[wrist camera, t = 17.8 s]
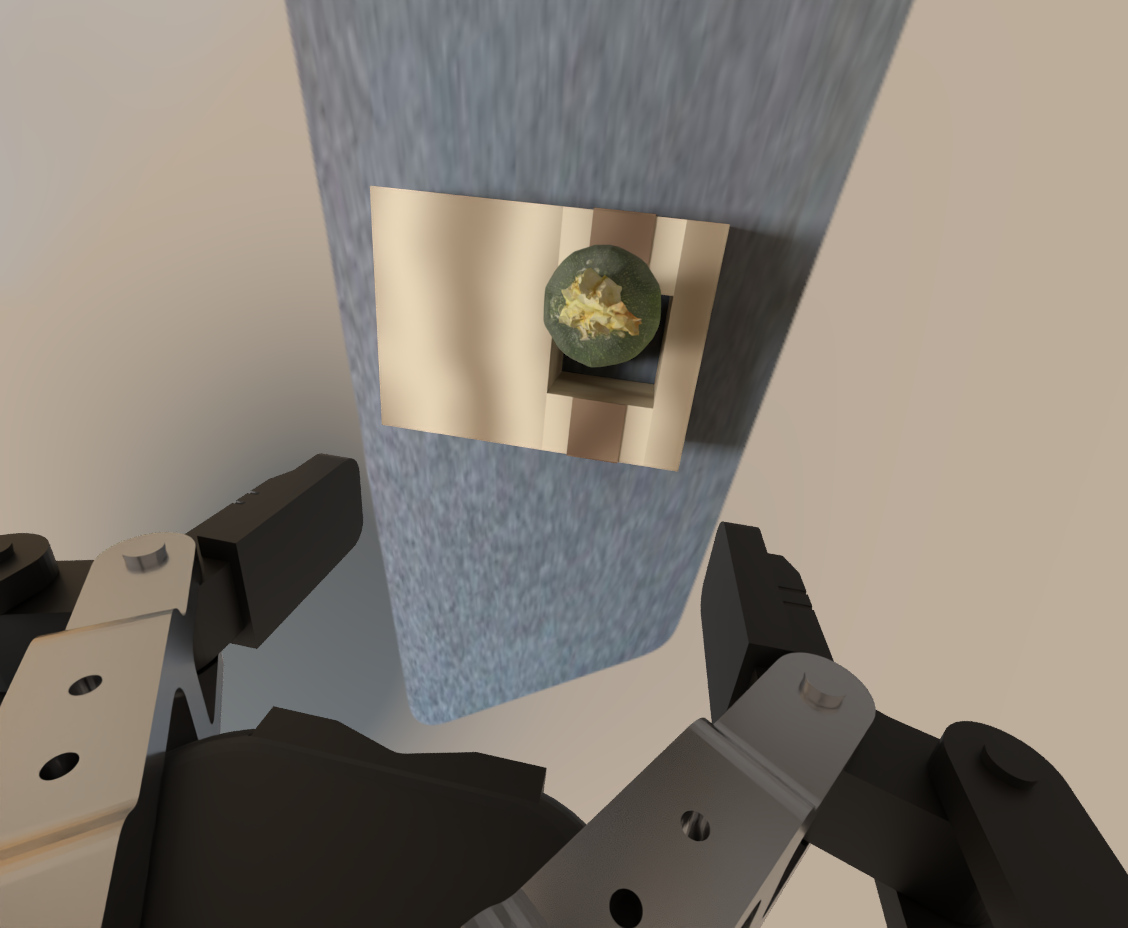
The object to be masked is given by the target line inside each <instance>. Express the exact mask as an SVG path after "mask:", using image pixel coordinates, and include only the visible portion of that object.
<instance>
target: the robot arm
mask: <svg viewBox="0 0 1128 928" xmlns="http://www.w3.org/2000/svg"><path fill="white" fill-rule="evenodd" d="M362 526H363V514H362V500H361V486H360V474H359V467H358V464H357V462H356V461H355V460H354V459H352V458H346V457H340V456H333V455H328V454H317V455H315V456H314V457H312V458H311V459H310V460H308V461H306V462H305V463H304V464H302V465H301V466H299V467H298V468H296V469H295V470H293V471H290V472H288V473H285V474H282V475H279V476H276V477H274V478H271V479H268V480H267V481H265V482H264V483H262V484H261V485H259V486H258V487H256V488H255V489H253V490H252V491H251V493H250V494H248V493H247V494H245V495H244V496H242V497H241V498H239V499H238V500H236V503H235V504H234V503H232V504H230V505H229V506H227V507H226V508H224V509H223V510H221V511H219V512H218V513H216V514H215V515H213V516H212V517H210V518H209V519H207V520H206V521H204V522H203V523H201V524H200V525H198V526H197V527H195V528H193V529H192V530H191V531H189V532H187V533H186V534H181V533H174V532H173V533H172V532H159V533H151V534H145V535H141V536H137V537H134V538H130V539H127V540H124V541H122V542H119V543H117V544H115V545H113V546H111V547H109V548H108V549H106V550H105V551H103V552H102V553H101V554H99V555H98V556H97V558H96V559H95V560H76V561H56V560H55V558H54V555H53V552H52V549H51V547H50V544H49V542H48V540H47V539H46V538H45V537H43V536H40V535H36V534H29V533H16V534H7V535H0V928H760V927H761V925H762V924H763V922H764V921H765V919H766V917H767V915H768V914H769V912H770V911H771V909H772V907H773V906H774V904H775V902H776V901H777V899H778V898H779V896H780V894H781V893H782V891H783V889H784V888H785V886H786V884H787V883H788V881H789V880H790V878H791V876H792V875H793V873H794V871H795V870H796V868H797V866H798V865H799V863H800V862H801V860H802V858H803V857H804V855H805V853H806V852H807V850H808V848H809V847H810V845H811V844H813V845H815V846H816V847H818V848H820V849H822V850H824V851H825V852H828V853H829V854H831V855H833V856H835V857H836V858H838V859H840V860H842V861H844V862H846V863H847V864H849V865H851V866H853V867H855V868H856V869H858V870H860V871H862V872H864V873H866V874H867V875H869V876H871V877H873V878H874V879H875V883H876V886H877V890H878V894H879V898H880V902H881V905H882V909H883V912H884V917H885V920H886V924H887V928H1128V874H1127V873H1126V871H1125V870H1124V868H1123V867H1122V865H1121V864H1120V862H1119V860H1118V859H1117V857H1116V856H1115V854H1114V853H1113V851H1112V850H1111V848H1110V847H1109V845H1108V844H1107V842H1106V841H1105V839H1104V838H1103V836H1102V835H1101V834H1100V832H1099V831H1098V829H1097V827H1096V826H1095V824H1094V823H1093V821H1092V820H1091V818H1090V817H1089V815H1088V814H1087V812H1086V811H1085V809H1084V808H1083V806H1082V805H1081V803H1080V802H1079V800H1078V799H1077V797H1076V796H1075V794H1074V793H1073V791H1072V790H1071V788H1070V787H1069V785H1068V784H1067V782H1066V781H1065V780H1064V778H1063V777H1062V776H1061V774H1060V773H1059V772H1058V771H1057V770H1056V769H1055V768H1054V767H1053V765H1051V764H1050V763H1049V762H1048V761H1047V760H1045V758H1044V757H1043V756H1041V755H1040V754H1039V753H1038V752H1036V751H1035V750H1034V749H1033V748H1031V747H1030V746H1028V745H1027V744H1025V743H1024V742H1022V741H1021V740H1019V739H1017V738H1015V737H1014V736H1012V735H1010V734H1008V733H1006V732H1004V731H1002V730H999V729H997V728H994V727H992V726H989V725H985V724H982V723H978V722H972V721H960V722H955V723H953V724H951V725H949V726H948V727H947V728H946V730H945V732H944V733H943V735H942V737H941V738H940V739H938V738H936V737H933V736H931V735H929V734H927V733H924V732H922V731H920V730H918V729H915V728H913V727H910V726H908V725H906V724H904V723H901V722H899V721H897V720H895V719H892V718H890V717H888V716H886V715H884V714H883V713H881V712H879V711H877V710H876V709H875V704H874V701H873V698H872V696H871V694H870V693H869V691H868V689H867V688H866V687H865V686H864V684H863V683H862V682H861V681H860V680H859V679H858V678H857V677H856V676H854V675H853V674H852V673H851V672H850V671H848V670H847V669H845V668H844V667H842V666H841V665H839V664H837V663H835V662H834V661H833V658H832V655H831V653H830V650H829V648H828V645H827V643H826V640H825V638H824V635H823V632H822V630H821V627H820V625H819V622H818V620H817V617H816V615H815V612H814V610H812V604H811V602H810V599H809V597H808V595H806V589H805V586H804V584H803V582H802V579H801V576H800V574H799V572H798V571H797V570H796V569H795V568H794V567H793V566H792V565H791V564H790V563H789V562H788V561H787V560H786V559H785V558H784V557H783V556H781V555H775V554H769V553H767V550H766V547H765V544H764V541H763V538H762V534H761V531H760V529H759V528H758V527H753V526H746V525H741V524H734V523H729V522H721V523H720V525H719V527H718V530H717V533H716V537H715V541H714V545H713V549H712V552H711V556H710V560H709V564H708V567H707V572H706V576H705V579H704V583H703V588H702V595H701V619H702V629H703V638H704V649H705V659H706V669H707V678H708V689H709V699H710V709H711V719H712V723H710V722H709V721H708V720H707V719H705V718H700V719H698V720H696V721H695V722H694V723H692V724H691V725H690V726H689V727H688V728H687V729H686V730H685V731H684V732H683V733H682V734H680V735H679V736H678V737H677V738H676V739H675V740H674V741H673V742H672V743H671V744H670V745H669V746H668V747H667V748H666V749H665V750H664V751H663V752H662V753H661V754H660V755H659V756H658V757H657V758H655V759H654V760H653V761H652V762H651V763H650V764H649V765H648V766H647V767H646V768H645V769H644V770H643V771H642V772H641V773H640V774H639V775H638V776H637V777H636V778H635V779H634V780H633V781H632V782H631V783H629V784H628V785H627V786H626V787H625V788H624V789H623V790H622V791H621V792H620V793H619V794H618V795H617V796H616V797H615V798H614V799H613V800H612V801H611V802H610V803H609V804H608V805H607V806H606V807H605V808H604V809H602V810H601V811H600V812H599V813H598V814H597V815H596V816H595V817H594V818H593V819H592V820H591V821H590V822H589V823H588V824H587V825H586V824H585V823H584V822H583V821H582V820H581V819H580V818H579V817H578V816H577V815H576V814H575V813H573V812H572V811H571V810H569V809H568V808H567V807H565V806H564V805H563V804H561V803H560V802H558V801H557V800H555V799H554V798H552V797H550V796H548V795H547V794H545V793H543V792H544V784H545V776H546V768H544V767H540V766H536V765H531V764H526V763H522V762H518V761H513V760H509V759H504V758H500V757H496V756H491V755H486V754H482V753H478V752H464V753H463V752H462V753H415V754H402V753H396V752H394V751H391V750H389V749H388V748H385V747H384V746H382V745H380V744H378V743H376V742H375V741H373V740H371V739H369V738H368V737H366V736H364V735H362V734H360V733H359V732H357V731H355V730H353V729H351V728H349V727H348V726H346V725H344V724H342V723H340V722H339V721H336V720H332V719H327V718H323V717H318V716H314V715H309V714H305V713H301V712H296V711H292V710H287V709H283V708H278V707H273V708H272V709H271V710H270V711H269V713H268V714H267V715H266V717H265V718H264V719H263V720H262V721H261V723H260V724H259V725H258V726H257V728H256V729H248V730H241V731H233V732H228V733H223V734H220V729H221V709H222V691H223V672H224V662H223V657H222V653H221V651H222V650H223V649H224V648H225V647H226V646H227V645H228V644H229V643H232V644H238V645H242V646H246V647H251V648H256V649H257V648H258V647H259V646H260V645H261V644H262V643H263V642H264V641H265V640H266V639H267V638H268V637H269V636H270V635H271V634H272V633H273V632H274V630H275V629H276V628H277V627H278V626H279V625H280V624H281V623H282V622H283V621H284V620H285V619H286V618H287V617H288V616H289V615H290V614H291V612H292V611H293V610H294V609H295V608H296V607H297V606H298V605H299V604H300V603H301V602H302V601H303V600H304V599H305V598H306V597H307V596H308V595H309V594H310V593H311V591H312V590H313V589H314V588H315V587H316V586H317V585H318V584H319V583H320V582H321V581H322V580H323V579H324V578H325V577H326V576H327V575H328V574H329V572H330V571H331V570H332V569H333V568H334V567H335V566H336V565H337V564H338V563H339V562H340V561H341V560H342V559H343V558H344V557H345V555H347V554H348V552H349V551H350V550H351V549H352V548H353V547H354V546H355V545H356V543H357V541H358V539H359V537H360V534H361V531H362Z"/></svg>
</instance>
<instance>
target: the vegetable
mask: <svg viewBox="0 0 1128 928" xmlns="http://www.w3.org/2000/svg"><path fill="white" fill-rule="evenodd" d="M660 318H661V289H660V286H659V283H658V281H657V280H656V278H655V277H654V275H653V273H652V272H651V270H650V268H649V267H648V265H647V264H646V263H645V262H644V261H643V260H642V259H641V258H639V257H638V256H636V255H634V254H632V253H631V252H629V251H627V250H625V249H623V248H620V247H618V246H613V245H593V246H590V247H587V248H583V249H580V250H577V251H574V252H573V253H572V254H570V255H569V256H568V257H567V258H566V259H564V260H563V261H562V263H561V264H560V265H559V266H558V267H557V269H556V270H555V271H554V273H553V275H552V277H551V278H550V280H549V282H548V283H547V285H546V287H545V295H544V318H543V321H544V324H545V327H546V328H547V330H548V332H549V333H550V335H551V336H552V338H553V340H554V341H555V343H556V345H557V346H558V348H559V349H560V350H561V351H562V352H563V353H564V354H565V355H567V356H568V357H570V358H572V359H573V360H576V361H578V362H580V363H582V364H584V365H586V366H589V367H603V366H609V365H616V364H618V363H622V362H627V361H628V360H630V359H632V358H634V357H636V356H637V355H638V354H639V353H640V352H641V351H642V350H643V349H644V348H645V347H646V346H647V345H648V343H649V342H650V341H651V340H652V339H653V337H654V335H655V333H656V331H657V329H658V327H659V322H660Z"/></svg>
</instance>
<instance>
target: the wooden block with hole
mask: <svg viewBox="0 0 1128 928" xmlns="http://www.w3.org/2000/svg"><path fill="white" fill-rule="evenodd" d="M370 195H371V215H372V235H373V255H374V275H375V295H376V314H377V334H378V354H379V374H380V394H381V414H382V425H388V426H395V427H401V428H407V429H413V430H420V431H426V432H432V433H439V434H445V435H451V436H458V437H464V438H470V439H476V440H483V441H489V442H495V443H502V444H508V445H514V446H521V447H527V448H533V449H540V450H546V451H552V452H558V453H565V454H567V456H574V457H580V458H586V459H593V460H599V461H605V462H611V463H617V462H621V463H628V464H634V465H640V466H647V467H653V468H659V469H666V470H672V471H678V468H679V464H680V459H681V454H682V449H683V445H684V440H685V435H686V430H687V426H688V421H689V416H690V411H691V407H692V402H693V397H694V392H695V388H696V383H697V378H698V373H699V369H700V364H701V359H702V355H703V350H704V345H705V340H706V336H707V331H708V326H709V321H710V317H711V312H712V307H713V302H714V298H715V293H716V288H717V283H718V279H719V274H720V269H721V264H722V260H723V255H724V250H725V246H726V241H727V236H728V231H729V227H730V224H722V223H712V222H703V221H694V220H684V219H675V218H666V217H657V215H656V214H650V213H641V212H631V211H622V210H613V209H603V208H594V210H591V209H582V208H572V207H563V206H554V205H544V204H535V203H526V202H516V201H507V200H498V199H488V198H479V197H470V196H460V195H451V194H442V193H432V192H423V191H414V190H404V189H395V188H386V187H376V186H370ZM593 245H613V246H618V247H620V248H623V249H625V250H627V251H629V252H631V253H632V254H634V255H636V256H638V257H639V258H641V259H642V260H643V261H644V262H645V263H646V264H647V265H648V267H649V268H650V270H651V272H652V273H653V275H654V277H655V278H656V280H657V281H658V283H659V286H660V289H661V295H669V296H670V299H669V304H668V310H667V316H666V321H665V327H664V333H663V338H662V344H661V350H660V355H659V361H658V367H657V372H656V378H655V384H648V383H641V382H634V381H627V380H620V379H613V378H606V377H599V376H592V375H585V374H578V373H571V372H564V371H562V364H563V354H564V353H563V352H562V351H561V350H560V349H559V348H558V346H557V345H556V343H555V341H554V340H553V338H552V336H551V335H550V333H549V332H548V330H547V328H546V327H545V324H544V321H543V318H544V295H545V287H546V285H547V283H548V282H549V280H550V278H551V277H552V275H553V273H554V271H555V270H556V269H557V267H558V266H559V265H560V264H561V263H562V261H563V260H564V259H566V258H567V257H568V256H569V255H570V254H572V253H573V252H574V251H577V250H580V249H583V248H587V247H590V246H593Z"/></svg>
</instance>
